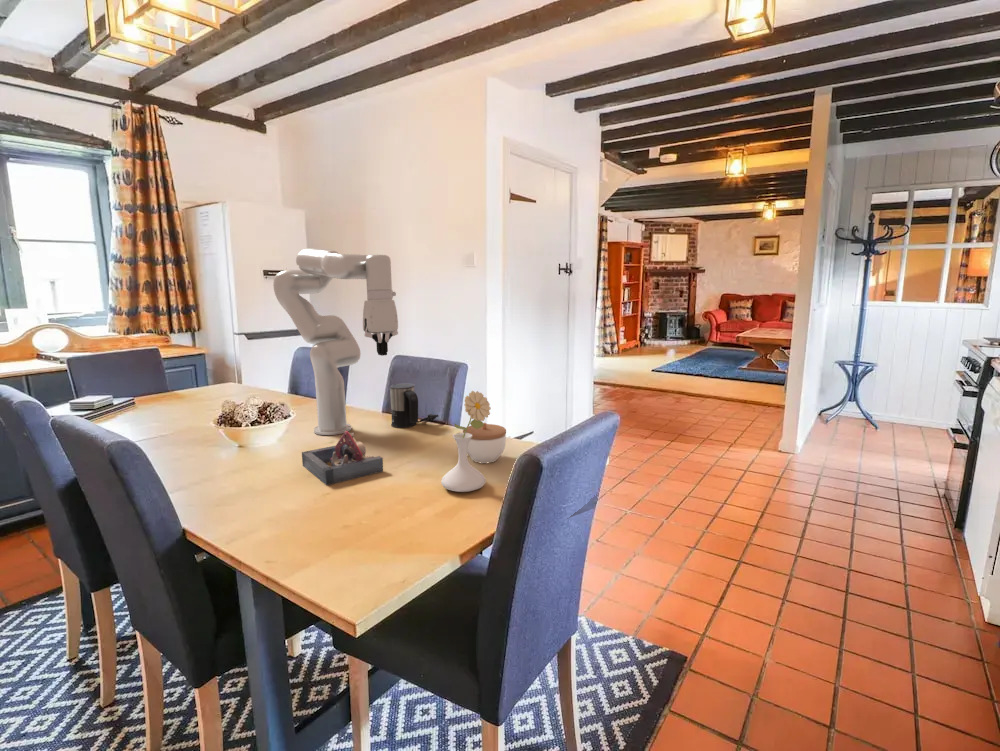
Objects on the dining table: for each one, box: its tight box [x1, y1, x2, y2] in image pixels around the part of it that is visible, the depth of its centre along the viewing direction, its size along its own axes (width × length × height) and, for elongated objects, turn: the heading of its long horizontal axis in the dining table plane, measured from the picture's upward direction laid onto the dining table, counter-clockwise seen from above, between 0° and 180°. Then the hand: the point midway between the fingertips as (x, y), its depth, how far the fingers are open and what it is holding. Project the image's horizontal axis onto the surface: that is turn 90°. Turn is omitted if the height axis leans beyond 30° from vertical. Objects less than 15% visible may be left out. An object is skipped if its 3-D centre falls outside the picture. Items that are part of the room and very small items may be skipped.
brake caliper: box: [330, 431, 375, 467], centre depth 152 cm, size 11×11×12 cm
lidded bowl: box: [462, 422, 507, 464], centre depth 158 cm, size 13×13×11 cm
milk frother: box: [388, 382, 439, 429], centre depth 197 cm, size 14×16×15 cm
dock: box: [301, 445, 384, 486], centre depth 152 cm, size 19×16×4 cm
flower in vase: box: [440, 390, 491, 493], centre depth 136 cm, size 13×11×25 cm
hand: (382, 354), depth 169 cm, fingers closed
